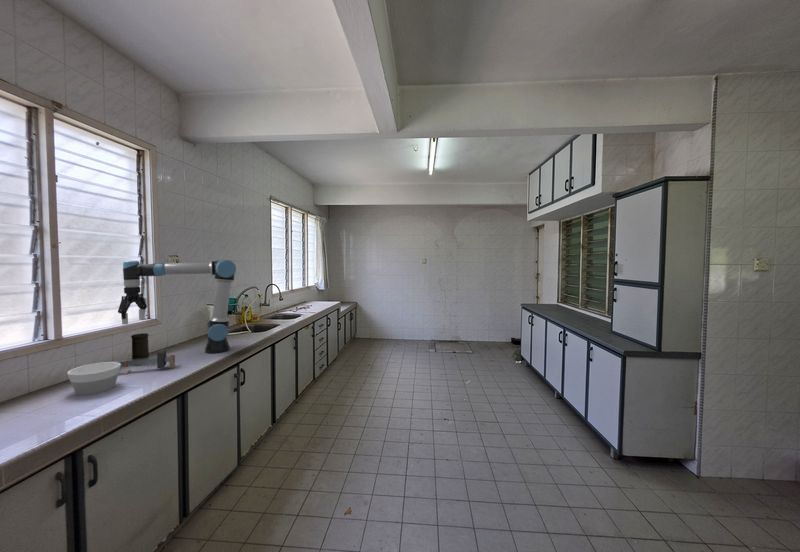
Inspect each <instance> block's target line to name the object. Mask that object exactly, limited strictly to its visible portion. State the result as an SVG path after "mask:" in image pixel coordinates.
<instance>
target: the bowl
mask: <svg viewBox="0 0 800 552" xmlns="http://www.w3.org/2000/svg"><path fill="white" fill-rule="evenodd" d="M120 366H121V364H120V363H118V362H110V361H104V362H96V363H95V362H94V363H90V364H89V363H88V364H84V365H81V366H77V367H75V368H72V369H70V370H68V371H67V376H68V379H69V381H70V383H71V386H72V388H73V391H74V392H75V395H78V396H88V395H89V396H91V395H95V394H96V395H97V394H100V393H104V392H107V391H109V390H111V389H113V388H115V387H116V382H117V380H118V377H119V373H120V370H121V367H120Z"/></svg>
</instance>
